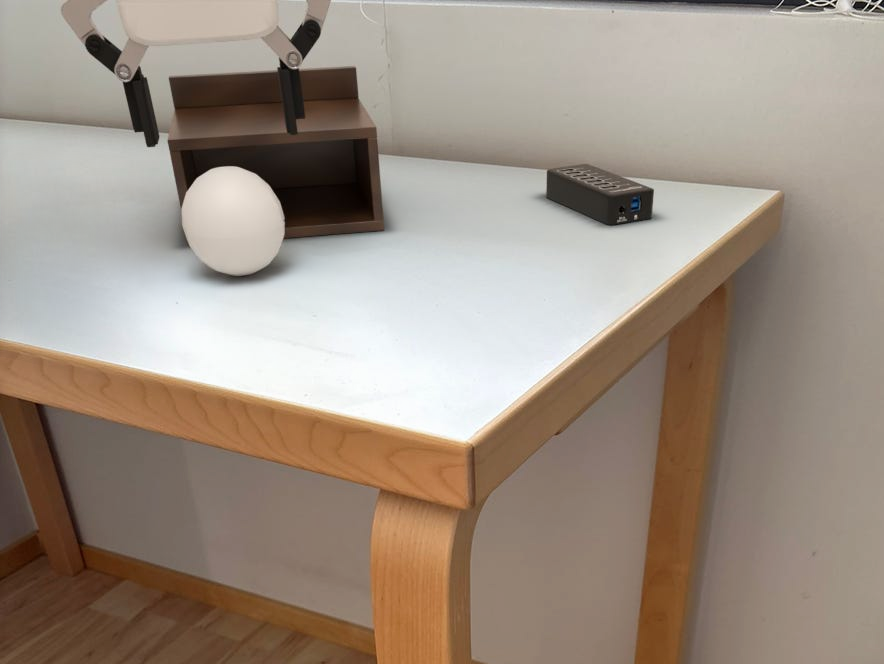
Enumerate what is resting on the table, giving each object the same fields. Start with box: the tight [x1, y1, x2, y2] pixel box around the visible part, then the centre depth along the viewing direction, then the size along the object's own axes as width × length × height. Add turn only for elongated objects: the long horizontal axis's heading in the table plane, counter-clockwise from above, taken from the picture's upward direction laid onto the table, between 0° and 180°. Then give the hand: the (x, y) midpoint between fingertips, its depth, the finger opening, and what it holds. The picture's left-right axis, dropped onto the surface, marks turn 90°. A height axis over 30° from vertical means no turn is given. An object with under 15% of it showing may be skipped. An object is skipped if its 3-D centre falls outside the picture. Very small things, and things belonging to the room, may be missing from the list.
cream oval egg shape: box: [181, 166, 286, 277], centre depth 73 cm, size 10×7×7 cm
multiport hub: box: [545, 163, 655, 226], centre depth 86 cm, size 4×11×2 cm, turn 27°
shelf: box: [166, 65, 385, 247], centre depth 83 cm, size 16×14×10 cm
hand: (223, 137), depth 69 cm, fingers open, 9 cm apart
